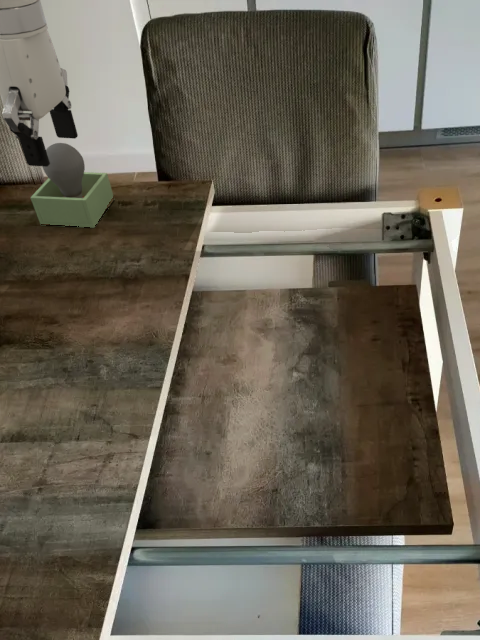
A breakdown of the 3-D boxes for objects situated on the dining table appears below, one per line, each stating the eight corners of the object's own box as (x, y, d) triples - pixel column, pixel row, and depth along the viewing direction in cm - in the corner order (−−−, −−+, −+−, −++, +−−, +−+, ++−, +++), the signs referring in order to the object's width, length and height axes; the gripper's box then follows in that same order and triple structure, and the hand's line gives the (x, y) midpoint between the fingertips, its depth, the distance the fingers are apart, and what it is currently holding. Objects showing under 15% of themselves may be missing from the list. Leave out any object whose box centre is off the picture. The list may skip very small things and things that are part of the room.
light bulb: (87, 218, 101) (67, 154, 94) (51, 216, 102) (28, 152, 95) (102, 199, 105) (84, 136, 98) (67, 197, 106) (47, 135, 99)
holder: (40, 225, 102) (30, 197, 98) (64, 197, 108) (54, 170, 104) (94, 228, 101) (85, 200, 97) (114, 200, 106) (107, 172, 103)
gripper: (18, -1, 91) (55, 126, 103) (-49, 37, 79) (1, 175, 91) (69, 1, 90) (100, 129, 102) (9, 39, 78) (52, 178, 90)
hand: (53, 150), depth 96 cm, fingers open, 9 cm apart
